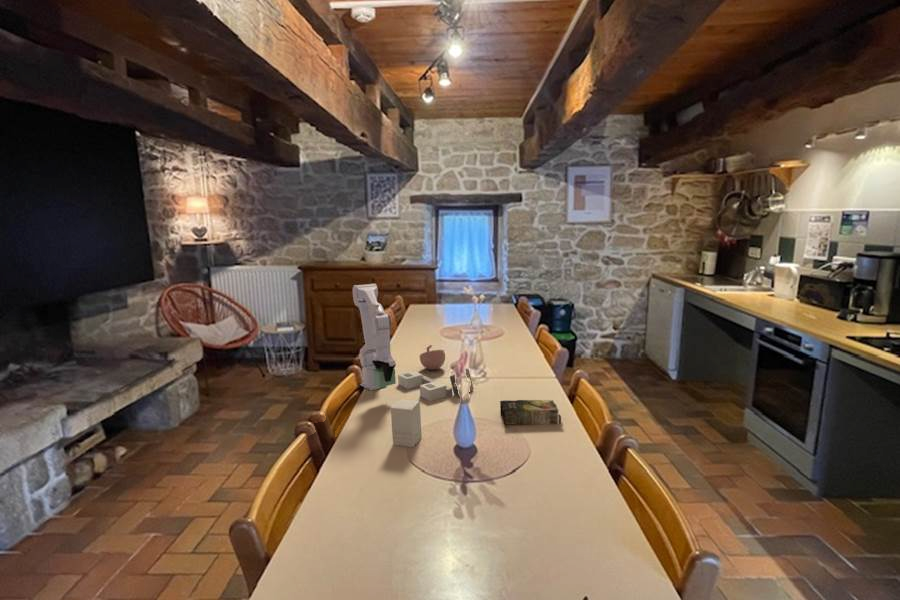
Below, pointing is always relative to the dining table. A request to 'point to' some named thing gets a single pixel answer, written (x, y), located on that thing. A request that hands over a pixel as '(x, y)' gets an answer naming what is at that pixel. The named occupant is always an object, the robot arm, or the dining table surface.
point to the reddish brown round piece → (432, 358)
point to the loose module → (382, 378)
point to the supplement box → (406, 422)
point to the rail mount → (424, 385)
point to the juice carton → (529, 412)
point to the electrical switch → (455, 384)
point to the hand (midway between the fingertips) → (384, 379)
